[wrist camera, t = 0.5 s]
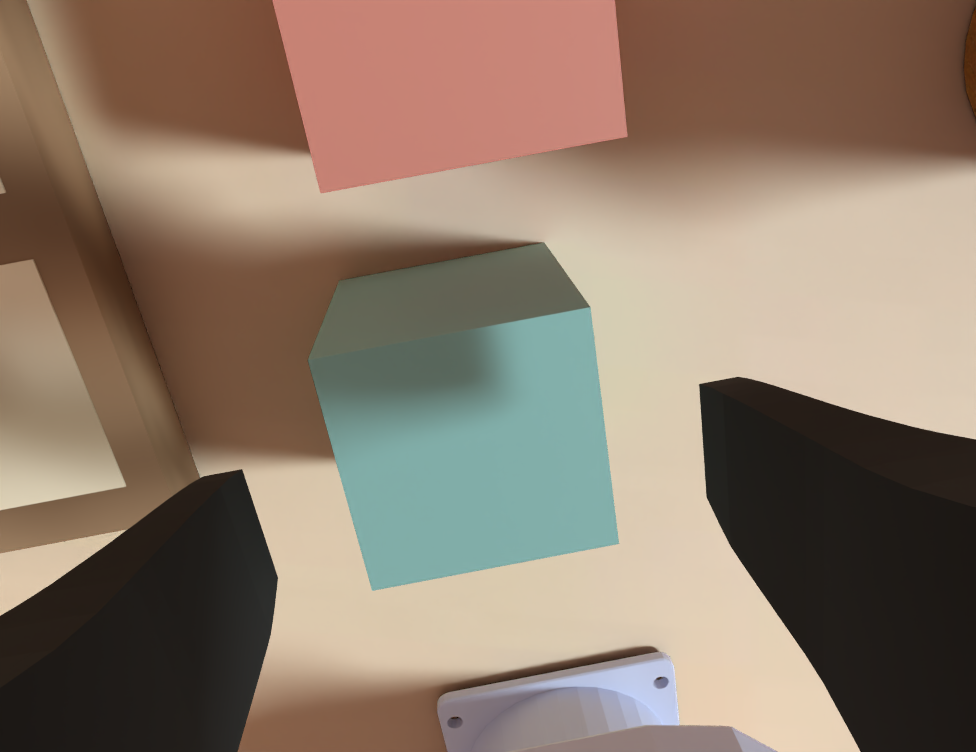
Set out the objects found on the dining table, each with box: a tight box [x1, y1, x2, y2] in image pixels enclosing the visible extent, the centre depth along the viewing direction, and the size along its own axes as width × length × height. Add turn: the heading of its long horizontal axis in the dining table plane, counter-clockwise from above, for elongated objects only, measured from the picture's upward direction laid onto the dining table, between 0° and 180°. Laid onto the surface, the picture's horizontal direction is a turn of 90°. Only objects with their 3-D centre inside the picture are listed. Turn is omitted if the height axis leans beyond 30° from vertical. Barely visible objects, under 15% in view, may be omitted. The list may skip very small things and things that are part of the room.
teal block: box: [308, 243, 619, 591], centre depth 18 cm, size 6×6×6 cm
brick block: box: [272, 0, 627, 193], centre depth 15 cm, size 6×6×6 cm
